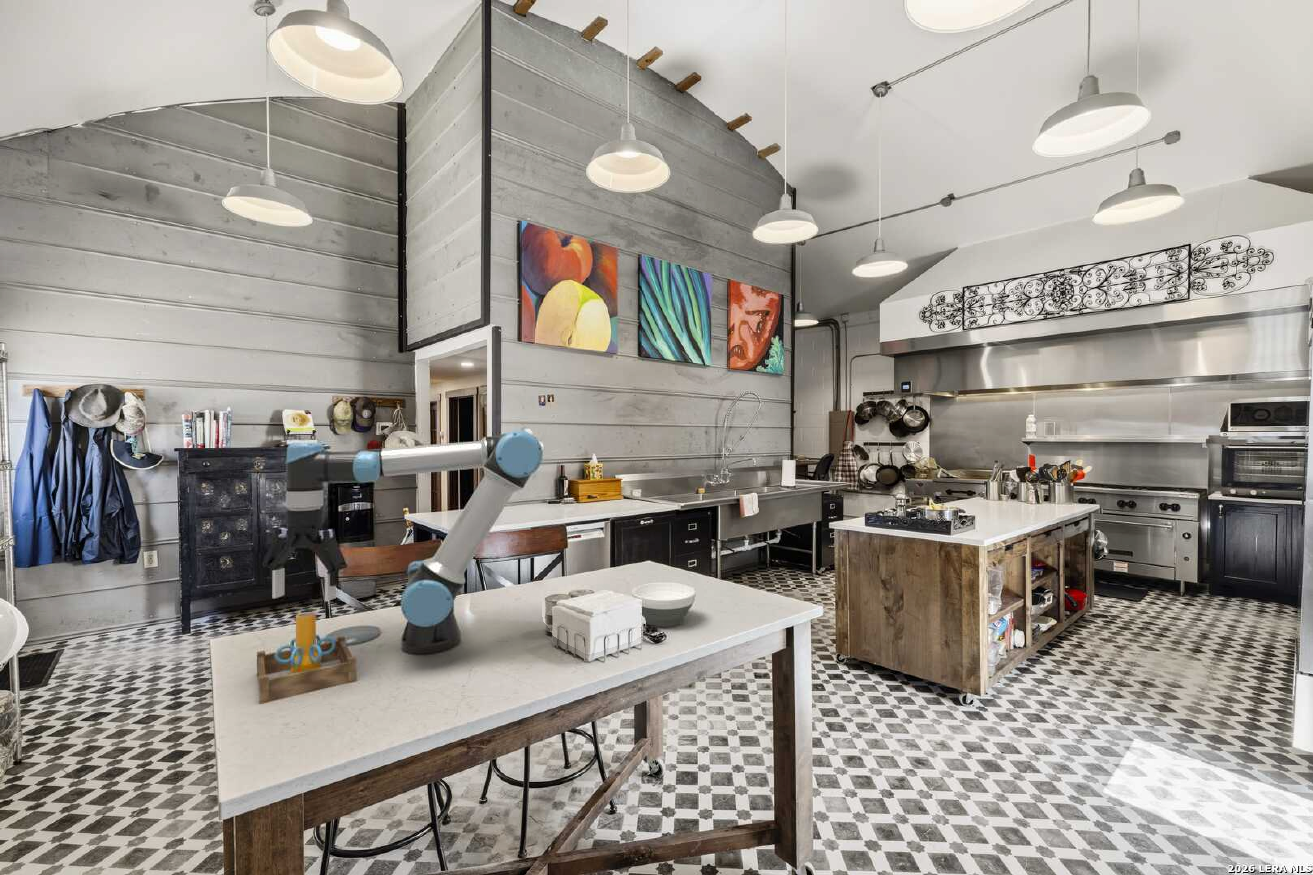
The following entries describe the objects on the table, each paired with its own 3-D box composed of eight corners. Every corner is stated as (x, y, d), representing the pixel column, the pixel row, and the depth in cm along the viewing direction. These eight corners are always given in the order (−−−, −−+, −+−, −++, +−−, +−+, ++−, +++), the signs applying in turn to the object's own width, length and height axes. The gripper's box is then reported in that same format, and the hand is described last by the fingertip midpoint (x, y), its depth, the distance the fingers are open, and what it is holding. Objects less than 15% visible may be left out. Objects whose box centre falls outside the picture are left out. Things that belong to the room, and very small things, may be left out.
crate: (343, 655, 145) (343, 635, 145) (356, 680, 130) (356, 657, 130) (256, 674, 134) (256, 651, 134) (259, 703, 119) (259, 678, 119)
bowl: (656, 607, 185) (656, 579, 185) (707, 619, 174) (707, 588, 174) (619, 624, 170) (619, 592, 170) (672, 637, 158) (672, 604, 158)
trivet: (390, 629, 165) (390, 626, 165) (359, 647, 151) (359, 644, 151) (347, 627, 167) (347, 624, 167) (312, 644, 153) (312, 641, 153)
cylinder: (297, 667, 138) (296, 607, 138) (341, 666, 139) (341, 605, 139) (266, 690, 126) (266, 623, 126) (315, 688, 127) (315, 622, 127)
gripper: (363, 507, 134) (363, 596, 134) (270, 505, 137) (270, 591, 138) (342, 511, 127) (341, 605, 127) (244, 508, 130) (243, 600, 130)
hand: (304, 598), depth 132 cm, fingers open, 13 cm apart
